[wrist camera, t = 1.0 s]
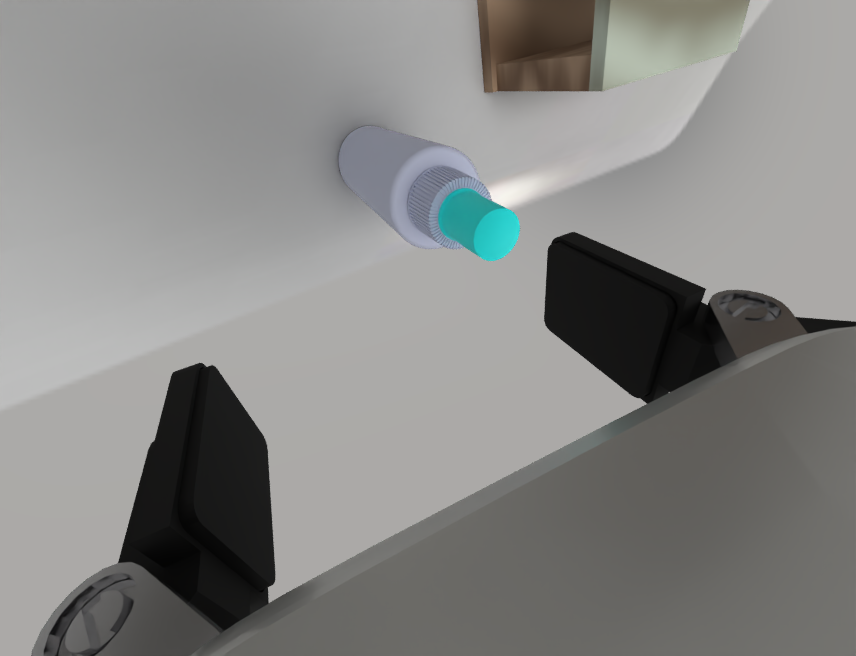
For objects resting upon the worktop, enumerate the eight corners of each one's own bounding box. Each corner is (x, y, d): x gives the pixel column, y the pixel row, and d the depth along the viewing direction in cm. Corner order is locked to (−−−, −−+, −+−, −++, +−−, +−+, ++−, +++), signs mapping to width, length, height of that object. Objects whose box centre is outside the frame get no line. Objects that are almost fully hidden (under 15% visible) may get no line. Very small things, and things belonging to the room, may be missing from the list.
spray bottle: (336, 194, 34) (428, 298, 17) (337, 120, 31) (449, 156, 14) (397, 198, 36) (531, 292, 19) (404, 130, 33) (568, 171, 16)
